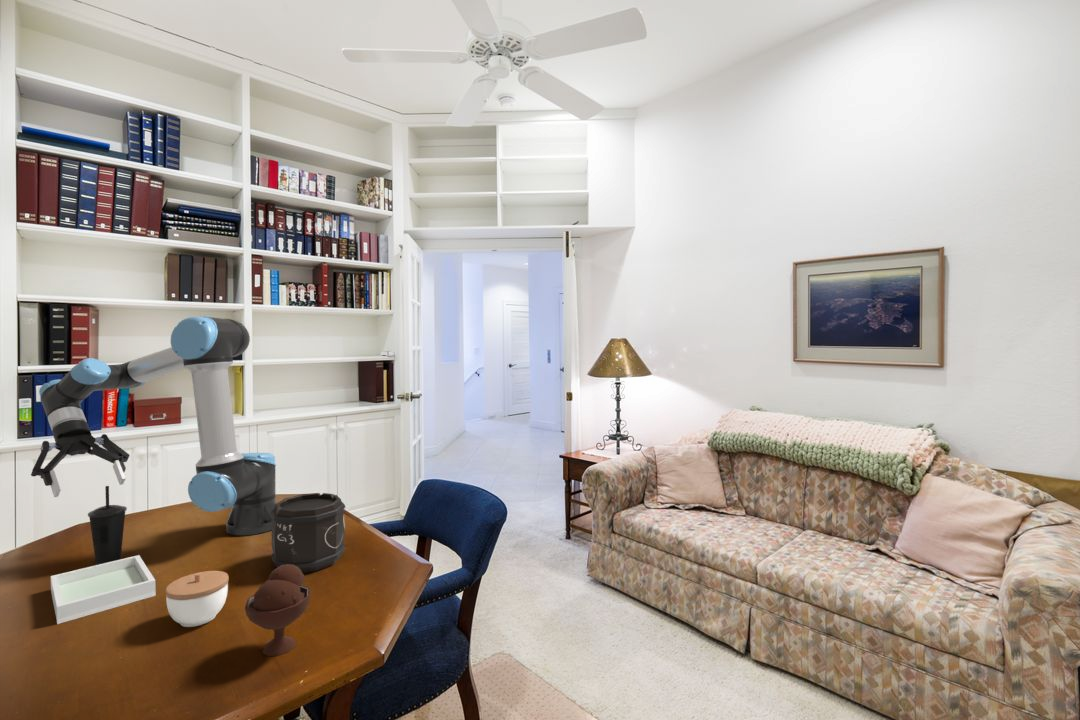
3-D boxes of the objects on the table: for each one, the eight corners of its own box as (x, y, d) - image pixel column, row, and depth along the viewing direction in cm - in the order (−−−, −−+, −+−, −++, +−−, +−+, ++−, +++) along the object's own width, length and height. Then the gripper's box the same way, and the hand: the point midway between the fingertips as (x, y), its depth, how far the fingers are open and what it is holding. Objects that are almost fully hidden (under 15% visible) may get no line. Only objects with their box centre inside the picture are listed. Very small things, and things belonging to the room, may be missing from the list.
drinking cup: (134, 558, 132) (133, 483, 132) (101, 571, 125) (99, 491, 125) (115, 554, 135) (114, 481, 134) (81, 566, 128) (80, 488, 127)
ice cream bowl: (261, 632, 98) (260, 557, 98) (320, 630, 99) (319, 555, 99) (233, 666, 88) (232, 582, 87) (299, 663, 89) (298, 580, 88)
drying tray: (50, 591, 115) (50, 576, 115) (139, 568, 126) (139, 555, 126) (57, 624, 101) (56, 607, 101) (155, 595, 113) (155, 580, 113)
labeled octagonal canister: (348, 543, 143) (347, 488, 143) (343, 569, 126) (343, 507, 126) (278, 550, 138) (277, 494, 137) (263, 579, 121) (262, 515, 120)
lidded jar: (240, 607, 108) (240, 564, 108) (202, 635, 97) (201, 587, 97) (194, 604, 109) (194, 561, 109) (152, 632, 98) (151, 585, 98)
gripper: (120, 429, 154) (142, 484, 146) (3, 442, 132) (23, 508, 125) (127, 413, 151) (150, 469, 143) (9, 424, 129) (29, 490, 122)
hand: (91, 487), depth 134 cm, fingers open, 13 cm apart
